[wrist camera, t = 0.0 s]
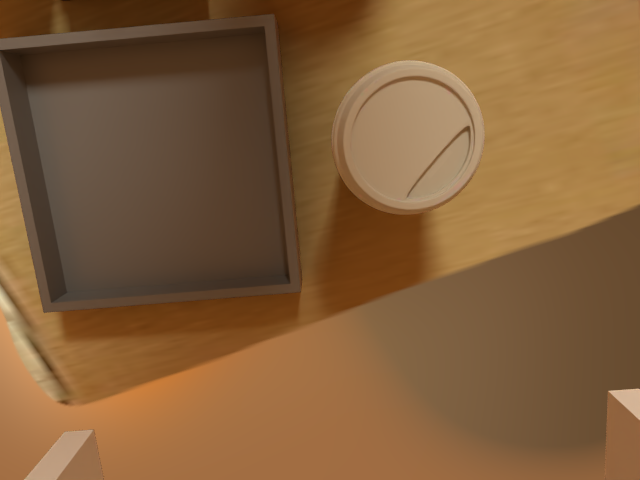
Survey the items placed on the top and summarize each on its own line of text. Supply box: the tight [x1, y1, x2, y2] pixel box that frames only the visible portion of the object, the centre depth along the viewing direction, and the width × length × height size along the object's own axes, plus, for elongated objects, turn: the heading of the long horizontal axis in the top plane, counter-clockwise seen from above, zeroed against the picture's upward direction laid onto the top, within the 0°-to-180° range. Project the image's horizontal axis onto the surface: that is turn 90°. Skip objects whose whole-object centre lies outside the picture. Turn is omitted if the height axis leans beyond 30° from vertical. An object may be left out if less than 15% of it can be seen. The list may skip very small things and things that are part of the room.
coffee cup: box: [332, 60, 485, 215], centre depth 33 cm, size 8×9×12 cm
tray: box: [0, 14, 302, 313], centre depth 38 cm, size 19×19×3 cm
